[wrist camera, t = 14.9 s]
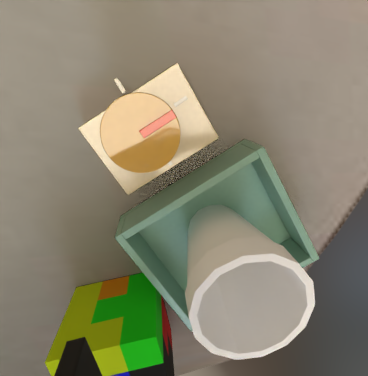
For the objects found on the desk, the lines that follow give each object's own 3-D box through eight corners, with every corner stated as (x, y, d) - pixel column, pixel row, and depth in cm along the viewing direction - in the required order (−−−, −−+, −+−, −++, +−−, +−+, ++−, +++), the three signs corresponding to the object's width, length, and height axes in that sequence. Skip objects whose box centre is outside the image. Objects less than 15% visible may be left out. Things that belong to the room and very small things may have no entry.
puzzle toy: (99, 346, 36) (79, 433, 26) (76, 287, 33) (44, 362, 23) (170, 329, 36) (176, 409, 27) (155, 269, 33) (156, 336, 24)
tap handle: (137, 161, 26) (130, 188, 18) (105, 115, 25) (81, 121, 16) (182, 133, 26) (195, 147, 17) (152, 84, 24) (152, 74, 16)
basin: (185, 299, 35) (191, 331, 30) (120, 215, 30) (114, 238, 25) (295, 235, 34) (319, 258, 29) (244, 138, 29) (263, 146, 24)
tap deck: (129, 188, 30) (127, 195, 27) (73, 111, 26) (65, 112, 24) (213, 135, 29) (219, 138, 26) (165, 49, 26) (167, 44, 23)
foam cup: (255, 190, 30) (324, 249, 18) (250, 259, 33) (306, 351, 21) (173, 194, 29) (188, 259, 17) (175, 265, 32) (188, 365, 20)
